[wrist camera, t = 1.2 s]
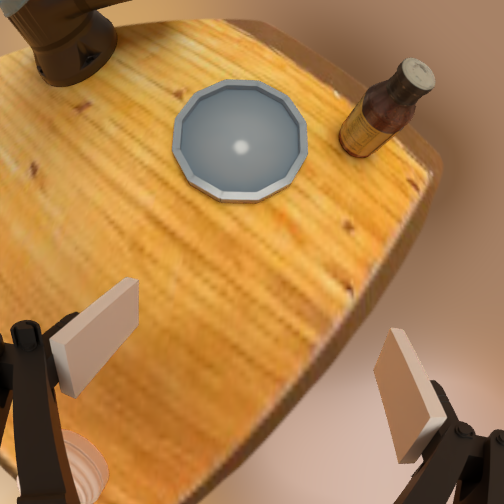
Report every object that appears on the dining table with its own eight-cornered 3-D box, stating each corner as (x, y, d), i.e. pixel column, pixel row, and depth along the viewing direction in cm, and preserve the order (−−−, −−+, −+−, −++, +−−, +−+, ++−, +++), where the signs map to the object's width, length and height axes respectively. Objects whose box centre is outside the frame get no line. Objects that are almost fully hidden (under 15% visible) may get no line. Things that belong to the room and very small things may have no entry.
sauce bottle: (366, 119, 45) (431, 49, 25) (380, 156, 45) (457, 98, 25) (328, 125, 44) (384, 47, 25) (343, 163, 44) (412, 99, 24)
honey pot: (82, 498, 38) (44, 559, 20) (30, 446, 38) (-24, 494, 20) (124, 474, 39) (89, 545, 21) (66, 415, 39) (6, 469, 21)
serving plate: (181, 86, 43) (179, 79, 41) (301, 90, 45) (304, 84, 43) (171, 202, 42) (168, 198, 40) (305, 204, 43) (309, 201, 41)
